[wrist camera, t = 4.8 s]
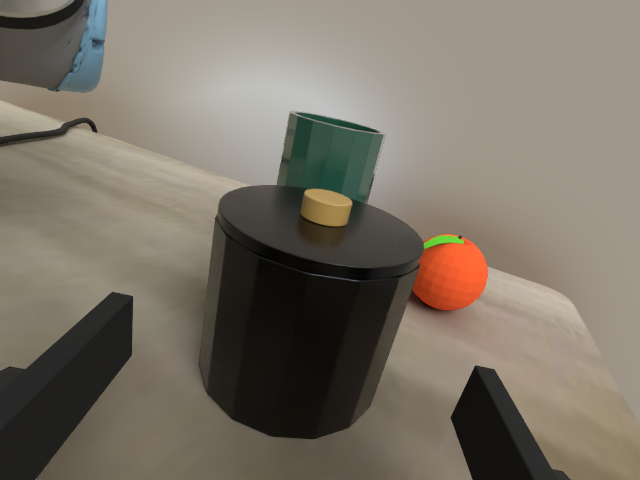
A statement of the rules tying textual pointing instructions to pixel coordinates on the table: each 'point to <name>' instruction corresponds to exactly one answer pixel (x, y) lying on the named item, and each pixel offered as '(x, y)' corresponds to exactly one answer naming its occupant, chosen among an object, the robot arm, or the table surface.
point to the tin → (330, 155)
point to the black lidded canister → (302, 307)
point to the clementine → (450, 273)
